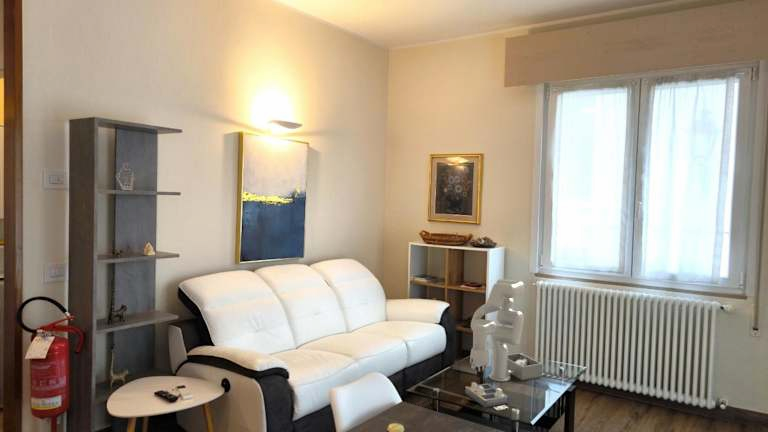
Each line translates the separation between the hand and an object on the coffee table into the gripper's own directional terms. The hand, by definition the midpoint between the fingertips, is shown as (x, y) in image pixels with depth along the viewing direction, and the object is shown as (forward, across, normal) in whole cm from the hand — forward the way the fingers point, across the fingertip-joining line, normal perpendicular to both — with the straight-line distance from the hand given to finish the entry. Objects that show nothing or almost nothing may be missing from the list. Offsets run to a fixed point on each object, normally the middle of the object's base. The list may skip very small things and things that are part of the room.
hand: (479, 377), depth 299 cm
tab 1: (+8, +4, +1) cm, 9 cm away
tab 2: (+8, +4, +7) cm, 11 cm away
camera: (+12, -42, -18) cm, 47 cm away
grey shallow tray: (+9, 0, +7) cm, 12 cm away
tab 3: (+8, -4, +13) cm, 15 cm away
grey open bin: (+12, -42, -18) cm, 47 cm away
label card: (+9, 0, +21) cm, 22 cm away
